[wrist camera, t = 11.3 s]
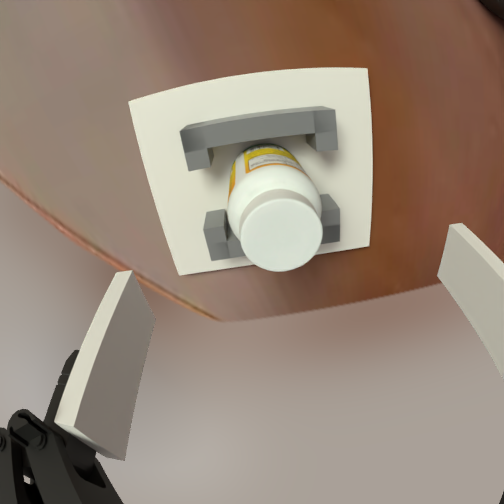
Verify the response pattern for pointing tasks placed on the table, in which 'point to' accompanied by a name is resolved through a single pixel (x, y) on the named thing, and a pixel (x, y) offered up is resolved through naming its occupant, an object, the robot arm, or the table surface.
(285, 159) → the supplement bottle
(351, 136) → the socket
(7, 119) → the table surface
